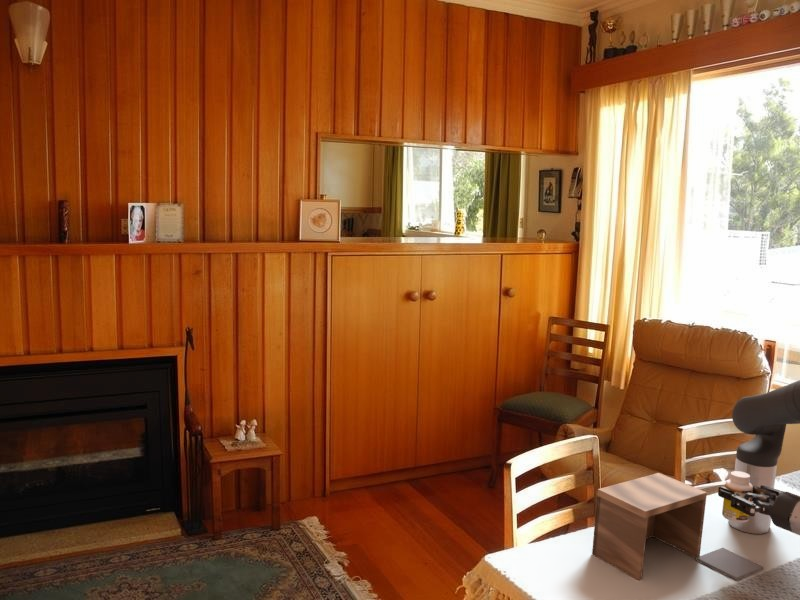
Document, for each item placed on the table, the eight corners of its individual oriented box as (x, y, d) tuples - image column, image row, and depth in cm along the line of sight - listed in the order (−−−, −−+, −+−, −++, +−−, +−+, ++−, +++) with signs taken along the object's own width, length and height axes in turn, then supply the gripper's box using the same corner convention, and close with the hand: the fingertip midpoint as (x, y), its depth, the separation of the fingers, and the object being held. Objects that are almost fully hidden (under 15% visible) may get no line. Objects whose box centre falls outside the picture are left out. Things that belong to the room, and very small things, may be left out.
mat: (722, 549, 177) (722, 547, 177) (763, 568, 168) (763, 566, 168) (696, 560, 171) (696, 557, 171) (736, 580, 163) (736, 577, 163)
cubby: (652, 533, 183) (658, 472, 181) (699, 557, 173) (706, 492, 170) (592, 554, 172) (597, 489, 169) (638, 580, 161) (645, 511, 159)
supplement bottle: (739, 525, 164) (744, 480, 163) (716, 516, 169) (721, 472, 167) (754, 520, 167) (759, 476, 166) (731, 511, 172) (736, 467, 170)
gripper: (823, 492, 159) (747, 466, 173) (785, 506, 151) (709, 477, 165) (818, 526, 160) (744, 497, 174) (780, 541, 152) (706, 510, 166)
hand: (727, 488), depth 169 cm, fingers closed on supplement bottle, 5 cm apart
